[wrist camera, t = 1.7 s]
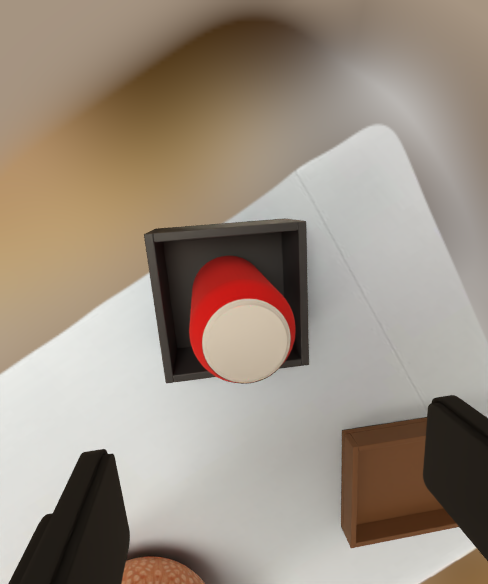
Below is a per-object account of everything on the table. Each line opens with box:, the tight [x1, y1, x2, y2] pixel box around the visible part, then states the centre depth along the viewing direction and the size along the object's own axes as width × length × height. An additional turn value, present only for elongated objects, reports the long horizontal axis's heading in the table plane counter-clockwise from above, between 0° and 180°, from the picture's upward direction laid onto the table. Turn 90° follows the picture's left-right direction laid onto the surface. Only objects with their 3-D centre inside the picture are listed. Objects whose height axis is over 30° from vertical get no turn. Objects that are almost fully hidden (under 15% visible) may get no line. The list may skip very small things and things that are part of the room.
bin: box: [144, 219, 309, 383], centre depth 26 cm, size 11×11×6 cm
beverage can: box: [189, 256, 295, 383], centre depth 23 cm, size 6×6×12 cm
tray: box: [341, 417, 459, 548], centre depth 36 cm, size 15×13×3 cm
